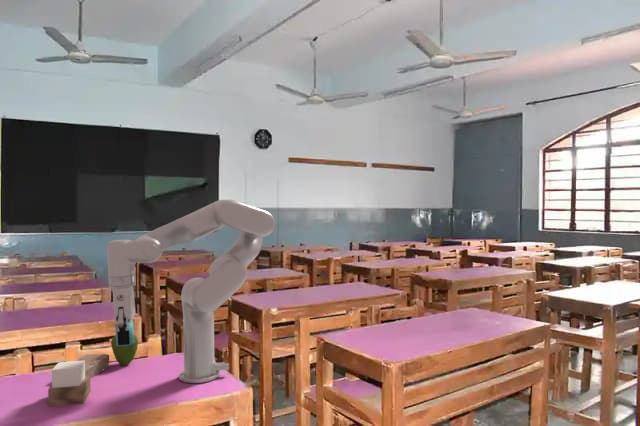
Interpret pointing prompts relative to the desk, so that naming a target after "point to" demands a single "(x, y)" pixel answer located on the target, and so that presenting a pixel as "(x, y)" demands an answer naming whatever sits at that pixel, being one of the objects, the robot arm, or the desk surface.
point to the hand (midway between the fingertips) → (125, 341)
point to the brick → (94, 363)
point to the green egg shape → (124, 351)
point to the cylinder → (131, 333)
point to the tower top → (68, 374)
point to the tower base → (69, 394)
